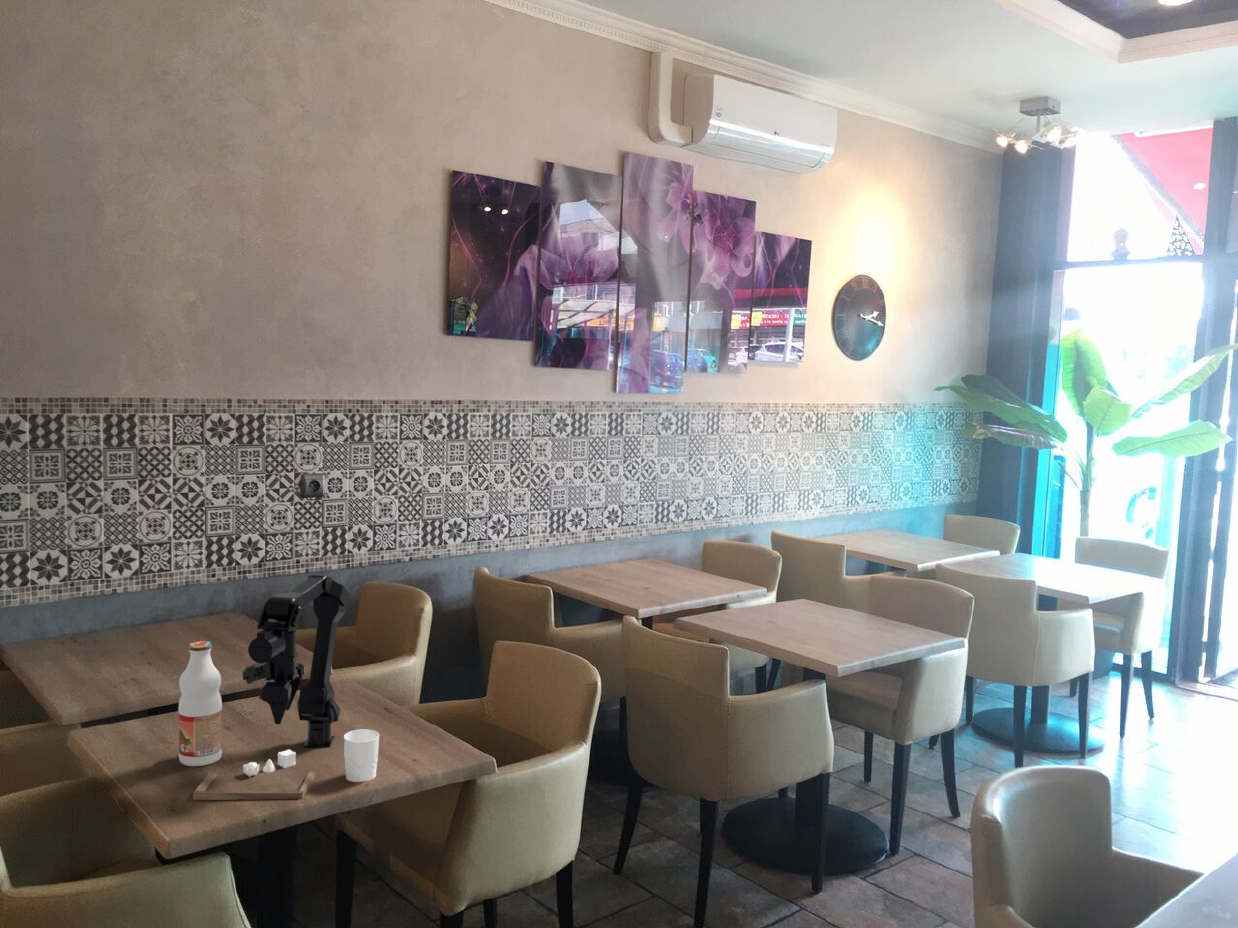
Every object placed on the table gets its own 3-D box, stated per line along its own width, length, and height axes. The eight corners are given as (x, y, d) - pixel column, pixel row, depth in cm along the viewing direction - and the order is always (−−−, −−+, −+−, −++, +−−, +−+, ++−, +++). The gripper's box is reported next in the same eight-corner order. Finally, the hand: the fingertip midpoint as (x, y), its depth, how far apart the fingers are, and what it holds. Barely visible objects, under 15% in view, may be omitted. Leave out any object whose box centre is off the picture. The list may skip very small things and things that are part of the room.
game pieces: (289, 761, 238) (289, 748, 238) (296, 765, 236) (296, 752, 235) (240, 775, 229) (240, 762, 229) (247, 780, 227) (247, 766, 227)
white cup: (381, 770, 234) (382, 729, 233) (374, 785, 226) (375, 742, 225) (347, 770, 234) (348, 728, 233) (339, 784, 226) (340, 741, 225)
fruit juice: (215, 767, 233) (215, 649, 230) (173, 767, 232) (172, 649, 229) (226, 751, 242) (226, 638, 239) (186, 751, 241) (185, 637, 238)
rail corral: (212, 774, 228) (212, 768, 228) (315, 775, 230) (315, 768, 230) (192, 799, 215) (192, 792, 215) (302, 799, 217) (302, 793, 217)
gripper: (256, 639, 237) (256, 703, 239) (235, 662, 219) (235, 731, 220) (304, 639, 239) (304, 702, 240) (287, 662, 220) (287, 731, 222)
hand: (282, 716), depth 231 cm, fingers open, 9 cm apart
